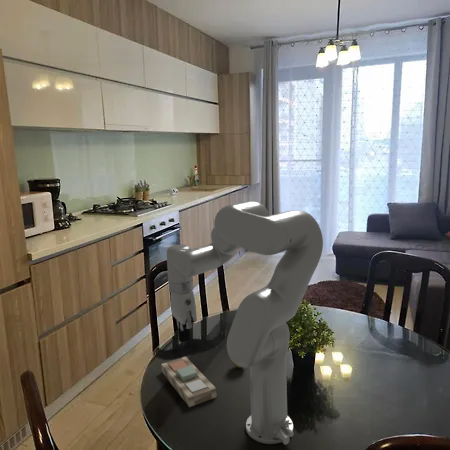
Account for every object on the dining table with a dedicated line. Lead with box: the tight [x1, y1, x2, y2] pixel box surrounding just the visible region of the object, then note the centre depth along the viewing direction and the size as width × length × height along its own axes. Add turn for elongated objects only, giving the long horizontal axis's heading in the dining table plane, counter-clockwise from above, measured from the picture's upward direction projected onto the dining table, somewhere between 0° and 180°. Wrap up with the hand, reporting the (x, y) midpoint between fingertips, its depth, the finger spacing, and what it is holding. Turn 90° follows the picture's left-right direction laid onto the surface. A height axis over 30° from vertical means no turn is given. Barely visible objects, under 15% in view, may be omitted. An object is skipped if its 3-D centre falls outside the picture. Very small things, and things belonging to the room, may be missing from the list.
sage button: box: [177, 366, 197, 382], centre depth 132 cm, size 5×5×3 cm
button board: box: [160, 356, 217, 408], centre depth 132 cm, size 23×9×3 cm, turn 29°
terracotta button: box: [169, 360, 188, 372], centre depth 138 cm, size 5×5×3 cm
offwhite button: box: [186, 379, 207, 393], centre depth 126 cm, size 5×5×3 cm
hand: (184, 340), depth 130 cm, fingers closed
